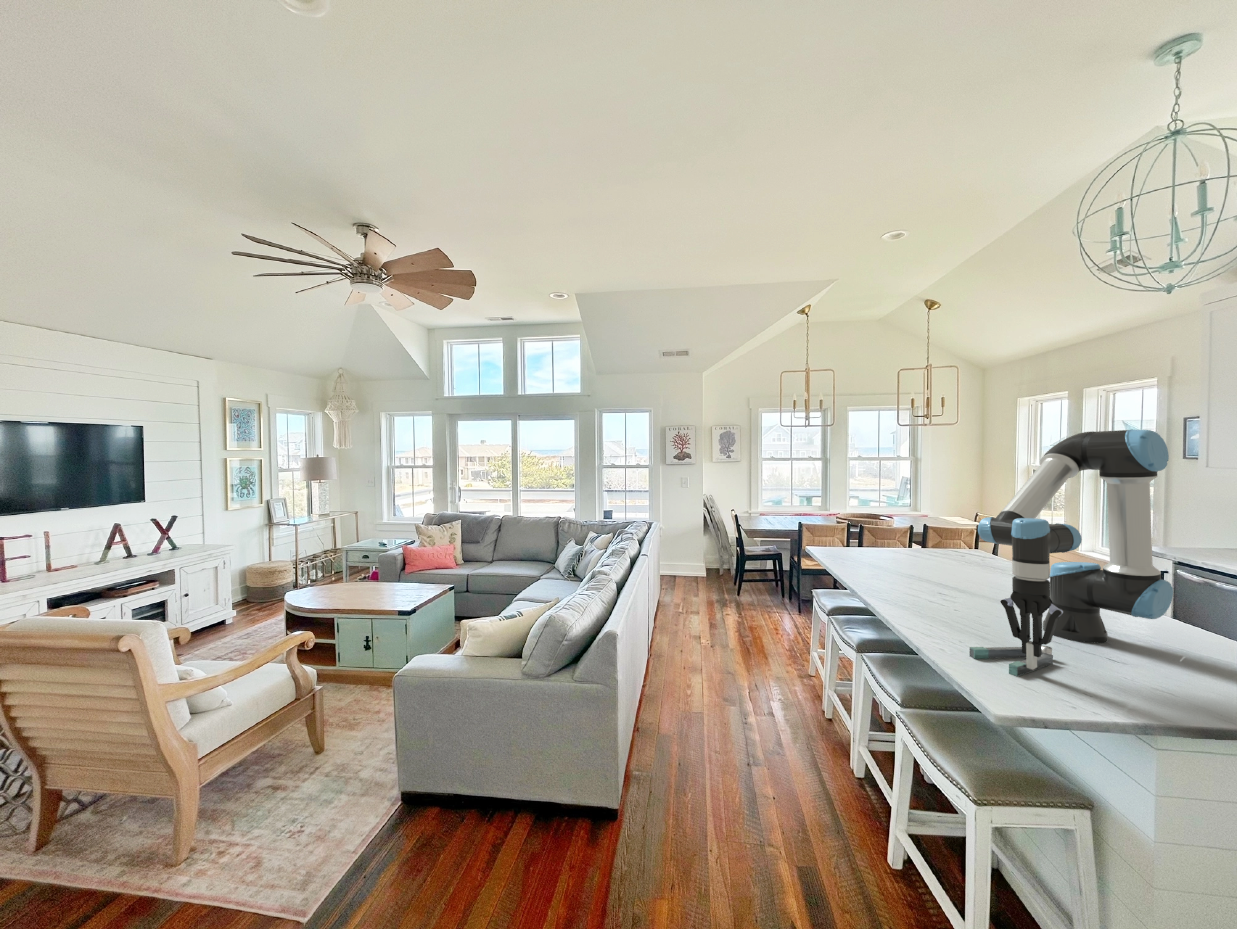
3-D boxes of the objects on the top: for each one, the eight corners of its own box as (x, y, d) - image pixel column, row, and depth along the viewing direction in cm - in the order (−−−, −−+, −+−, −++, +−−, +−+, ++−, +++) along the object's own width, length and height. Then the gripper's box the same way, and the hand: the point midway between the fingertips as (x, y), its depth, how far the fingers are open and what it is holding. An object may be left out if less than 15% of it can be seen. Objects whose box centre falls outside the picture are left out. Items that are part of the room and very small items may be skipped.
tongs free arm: (1044, 661, 135) (1044, 652, 135) (1052, 663, 133) (1052, 654, 133) (1008, 673, 127) (1008, 663, 127) (1017, 676, 126) (1017, 666, 126)
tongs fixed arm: (1042, 654, 139) (1042, 643, 139) (1054, 660, 135) (1054, 649, 135) (969, 656, 139) (969, 645, 139) (979, 661, 135) (979, 650, 135)
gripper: (1068, 580, 124) (1069, 673, 124) (1007, 571, 134) (1008, 656, 134) (1057, 584, 120) (1058, 680, 120) (995, 575, 131) (996, 662, 131)
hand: (1031, 667), depth 127 cm, fingers closed
